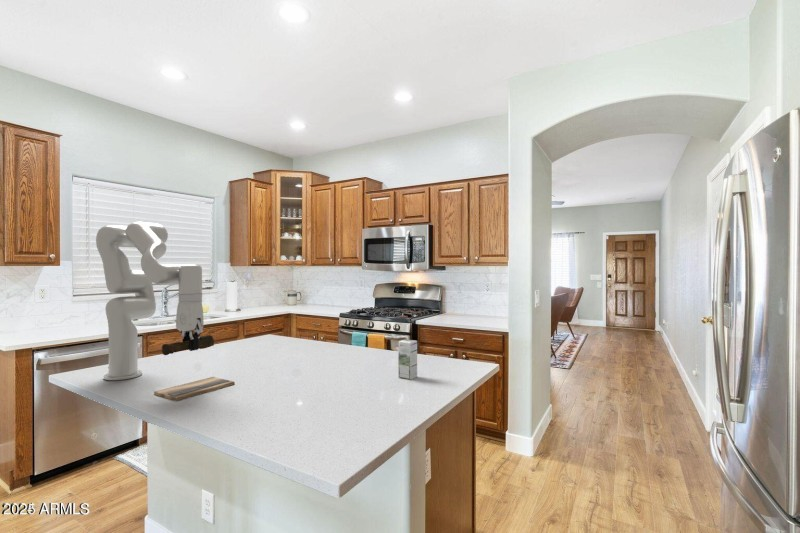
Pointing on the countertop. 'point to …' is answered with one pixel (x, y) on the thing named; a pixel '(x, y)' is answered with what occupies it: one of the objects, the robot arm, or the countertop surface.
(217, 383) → the plywood panel
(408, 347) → the syrup box
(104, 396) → the countertop surface
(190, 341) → the robot arm
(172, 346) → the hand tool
